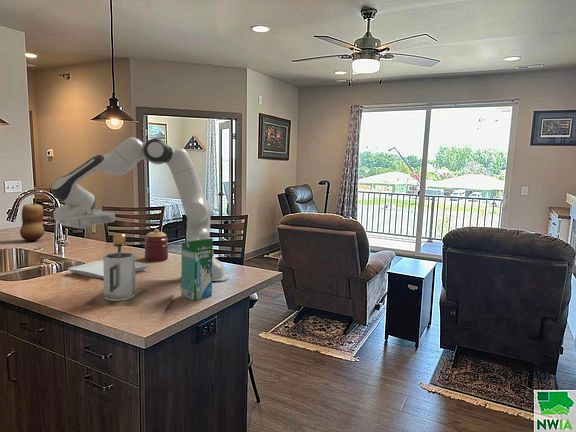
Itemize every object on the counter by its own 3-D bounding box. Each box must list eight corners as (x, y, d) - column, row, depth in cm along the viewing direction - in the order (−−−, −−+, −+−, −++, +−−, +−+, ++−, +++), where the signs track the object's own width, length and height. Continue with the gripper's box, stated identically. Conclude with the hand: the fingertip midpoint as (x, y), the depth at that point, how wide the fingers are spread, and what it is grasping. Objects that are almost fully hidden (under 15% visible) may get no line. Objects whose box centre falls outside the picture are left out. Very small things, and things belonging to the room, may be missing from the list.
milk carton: (198, 291, 171) (199, 234, 168) (211, 296, 165) (212, 237, 162) (181, 295, 164) (181, 237, 161) (194, 301, 158) (195, 240, 155)
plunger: (132, 291, 159) (132, 233, 156) (126, 297, 152) (125, 236, 149) (113, 290, 159) (112, 232, 156) (106, 296, 151) (105, 235, 148)
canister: (161, 262, 218) (161, 231, 216) (140, 260, 220) (139, 229, 218) (172, 257, 231) (172, 228, 229) (151, 255, 233) (151, 226, 231)
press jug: (138, 292, 161) (138, 252, 159) (126, 304, 147) (126, 261, 145) (110, 292, 160) (110, 252, 158) (96, 304, 146) (95, 260, 144)
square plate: (150, 271, 201) (150, 263, 201) (106, 284, 177) (106, 275, 176) (112, 263, 213) (112, 256, 212) (66, 275, 188) (65, 267, 187)
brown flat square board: (152, 292, 166) (152, 289, 166) (137, 309, 146) (137, 305, 146) (104, 292, 165) (103, 288, 164) (82, 309, 145) (82, 305, 145)
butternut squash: (38, 243, 255) (37, 205, 252) (16, 242, 253) (14, 204, 250) (48, 239, 269) (47, 203, 266) (27, 239, 267) (25, 202, 264)
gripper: (56, 213, 157) (76, 215, 150) (102, 208, 175) (122, 211, 168) (57, 228, 158) (77, 232, 151) (103, 222, 175) (123, 225, 169)
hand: (101, 221), depth 160 cm, fingers open, 8 cm apart
